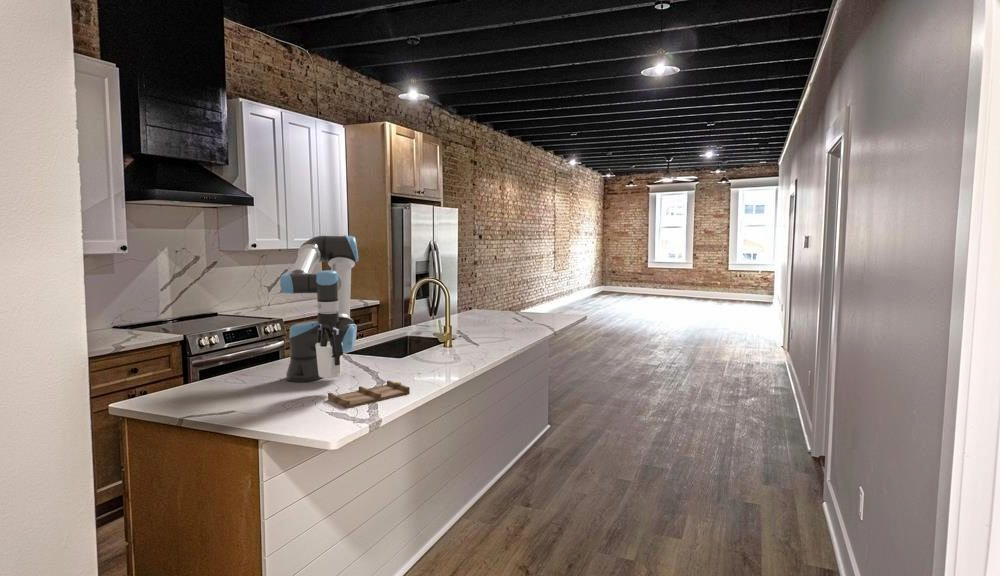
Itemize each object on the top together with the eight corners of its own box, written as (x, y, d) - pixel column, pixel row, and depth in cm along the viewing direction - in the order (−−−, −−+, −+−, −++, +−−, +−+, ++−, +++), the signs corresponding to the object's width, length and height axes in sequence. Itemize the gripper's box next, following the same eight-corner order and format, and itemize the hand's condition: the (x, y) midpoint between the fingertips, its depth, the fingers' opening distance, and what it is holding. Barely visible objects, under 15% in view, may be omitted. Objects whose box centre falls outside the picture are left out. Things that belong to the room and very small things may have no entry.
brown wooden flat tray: (328, 399, 206) (327, 391, 206) (390, 386, 225) (390, 378, 224) (347, 408, 196) (347, 399, 196) (411, 393, 215) (411, 385, 214)
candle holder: (344, 377, 211) (343, 345, 210) (316, 379, 208) (315, 347, 207) (342, 370, 220) (341, 340, 219) (316, 372, 217) (315, 341, 216)
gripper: (305, 309, 217) (307, 367, 219) (333, 317, 201) (334, 378, 204) (323, 307, 222) (325, 363, 224) (352, 314, 206) (353, 374, 209)
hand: (329, 370), depth 214 cm, fingers closed on candle holder, 9 cm apart
